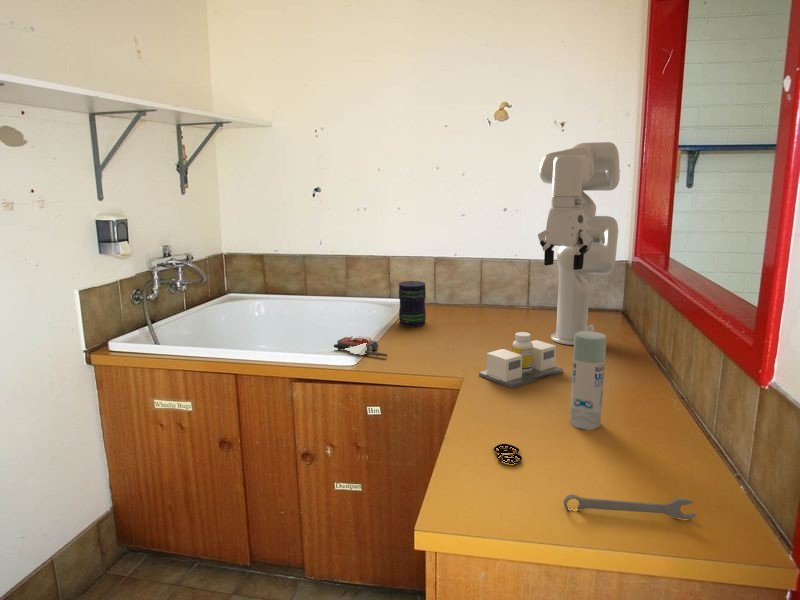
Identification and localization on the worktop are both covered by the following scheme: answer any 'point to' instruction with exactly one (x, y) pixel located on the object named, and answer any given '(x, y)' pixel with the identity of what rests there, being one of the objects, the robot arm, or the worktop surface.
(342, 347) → the red white elongated piece
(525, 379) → the rail plate
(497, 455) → the corroded twin loop
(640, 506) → the combination wrench
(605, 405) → the worktop surface
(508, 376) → the mounted modules
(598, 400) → the spray paint can
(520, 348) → the supplement bottle
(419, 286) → the storage jar
